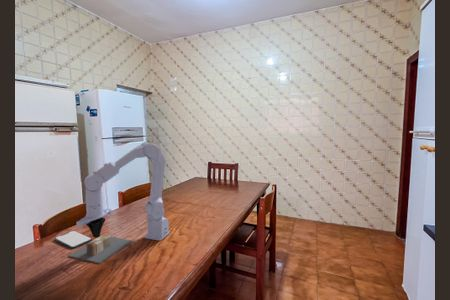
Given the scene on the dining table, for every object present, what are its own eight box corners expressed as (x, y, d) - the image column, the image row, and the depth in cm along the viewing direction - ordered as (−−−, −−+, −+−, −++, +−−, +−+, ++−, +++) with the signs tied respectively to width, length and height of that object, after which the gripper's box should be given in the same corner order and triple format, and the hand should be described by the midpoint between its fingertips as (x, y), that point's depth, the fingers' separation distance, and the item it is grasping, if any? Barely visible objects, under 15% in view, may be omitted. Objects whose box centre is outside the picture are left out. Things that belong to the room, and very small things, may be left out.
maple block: (110, 236, 93) (94, 245, 85) (110, 245, 93) (94, 255, 85) (102, 234, 94) (86, 243, 86) (103, 243, 94) (86, 253, 87)
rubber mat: (132, 241, 97) (132, 240, 97) (100, 263, 81) (100, 262, 81) (104, 236, 102) (104, 235, 102) (68, 256, 86) (68, 255, 86)
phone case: (93, 241, 98) (74, 233, 106) (93, 238, 98) (74, 229, 106) (72, 251, 91) (53, 241, 98) (72, 247, 90) (52, 238, 98)
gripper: (101, 198, 95) (103, 227, 96) (69, 209, 81) (71, 244, 83) (114, 199, 93) (116, 230, 94) (83, 211, 79) (86, 247, 81)
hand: (96, 236), depth 88 cm, fingers closed
